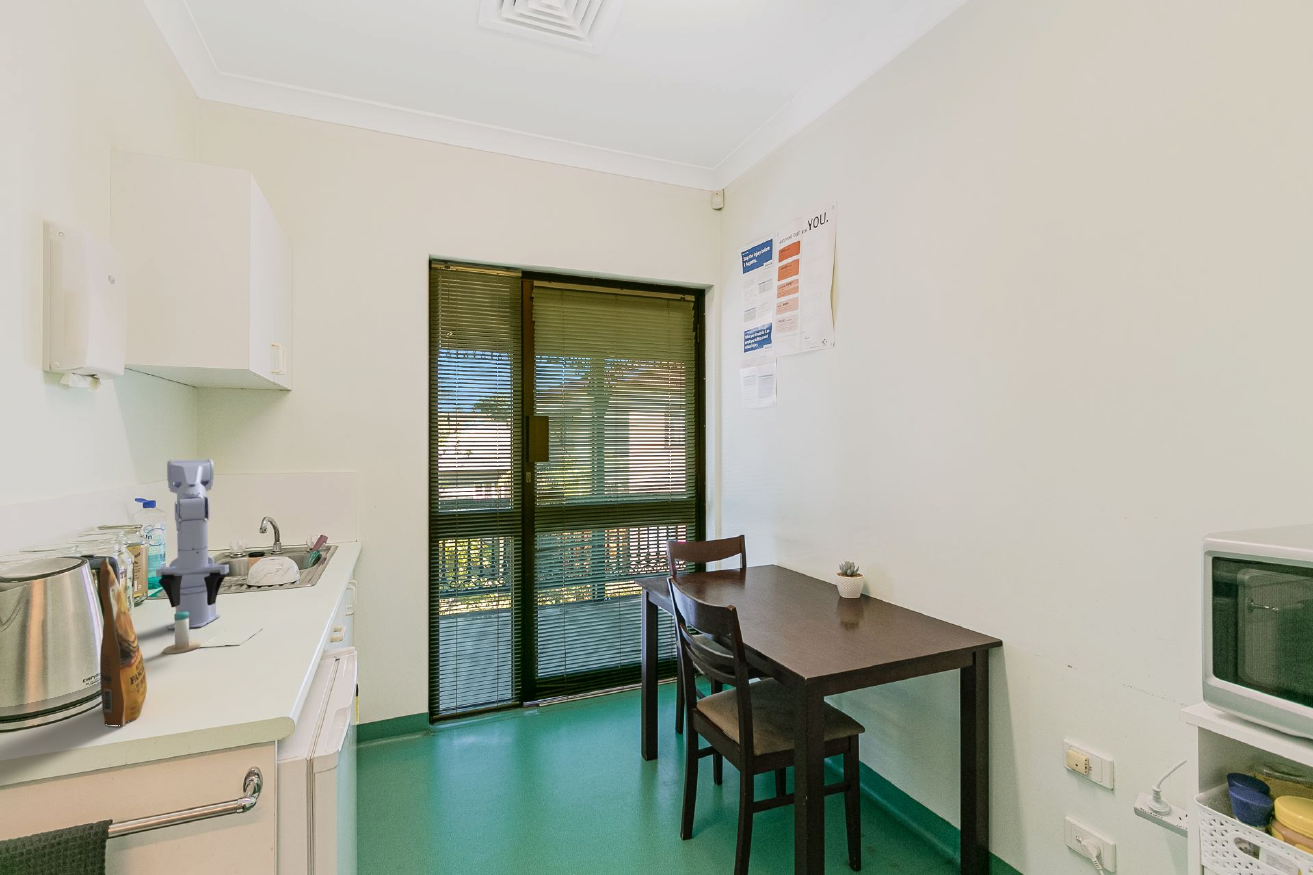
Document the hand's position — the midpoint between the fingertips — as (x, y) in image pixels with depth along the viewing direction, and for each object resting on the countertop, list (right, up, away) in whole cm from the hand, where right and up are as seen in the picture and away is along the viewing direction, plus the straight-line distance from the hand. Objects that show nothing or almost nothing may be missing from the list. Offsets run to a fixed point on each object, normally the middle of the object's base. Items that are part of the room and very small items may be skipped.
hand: (193, 605), depth 142 cm
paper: (+5, -10, +6) cm, 12 cm away
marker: (-2, -10, -1) cm, 10 cm away
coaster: (-2, -10, -1) cm, 10 cm away
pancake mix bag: (+12, -10, -33) cm, 37 cm away
